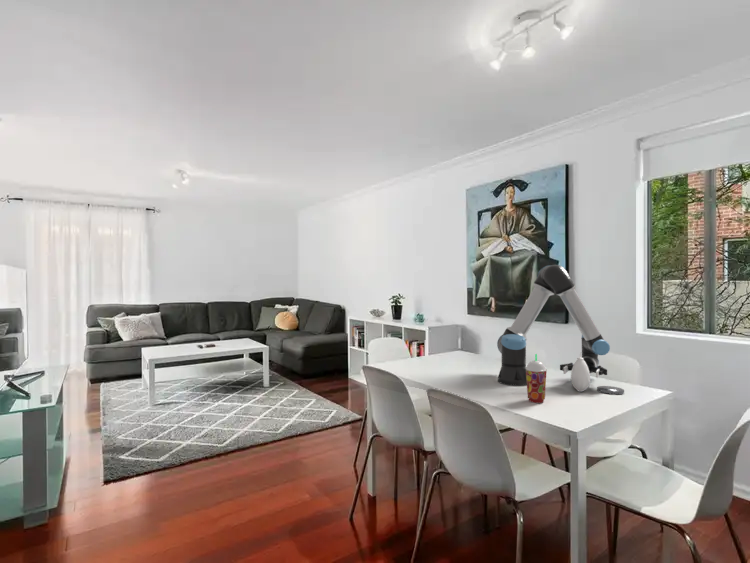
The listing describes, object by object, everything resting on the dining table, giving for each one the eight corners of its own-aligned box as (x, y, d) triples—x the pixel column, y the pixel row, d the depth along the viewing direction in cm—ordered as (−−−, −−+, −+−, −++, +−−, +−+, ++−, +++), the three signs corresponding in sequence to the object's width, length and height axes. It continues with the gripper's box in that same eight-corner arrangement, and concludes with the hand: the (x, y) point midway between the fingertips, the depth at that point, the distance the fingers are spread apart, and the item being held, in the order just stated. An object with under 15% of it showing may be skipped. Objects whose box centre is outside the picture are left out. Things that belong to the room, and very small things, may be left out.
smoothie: (537, 397, 186) (537, 352, 186) (551, 403, 178) (551, 355, 178) (521, 399, 183) (521, 353, 183) (534, 404, 175) (534, 356, 175)
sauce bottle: (593, 392, 195) (593, 352, 195) (581, 394, 192) (581, 354, 192) (579, 388, 203) (579, 350, 203) (567, 390, 199) (567, 351, 199)
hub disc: (620, 395, 189) (620, 393, 189) (593, 391, 197) (593, 388, 197) (627, 391, 197) (627, 388, 197) (601, 387, 204) (601, 384, 204)
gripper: (615, 375, 206) (611, 384, 188) (560, 369, 220) (551, 377, 202) (615, 360, 206) (611, 367, 188) (560, 355, 220) (551, 361, 202)
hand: (580, 372), depth 195 cm, fingers open, 13 cm apart
